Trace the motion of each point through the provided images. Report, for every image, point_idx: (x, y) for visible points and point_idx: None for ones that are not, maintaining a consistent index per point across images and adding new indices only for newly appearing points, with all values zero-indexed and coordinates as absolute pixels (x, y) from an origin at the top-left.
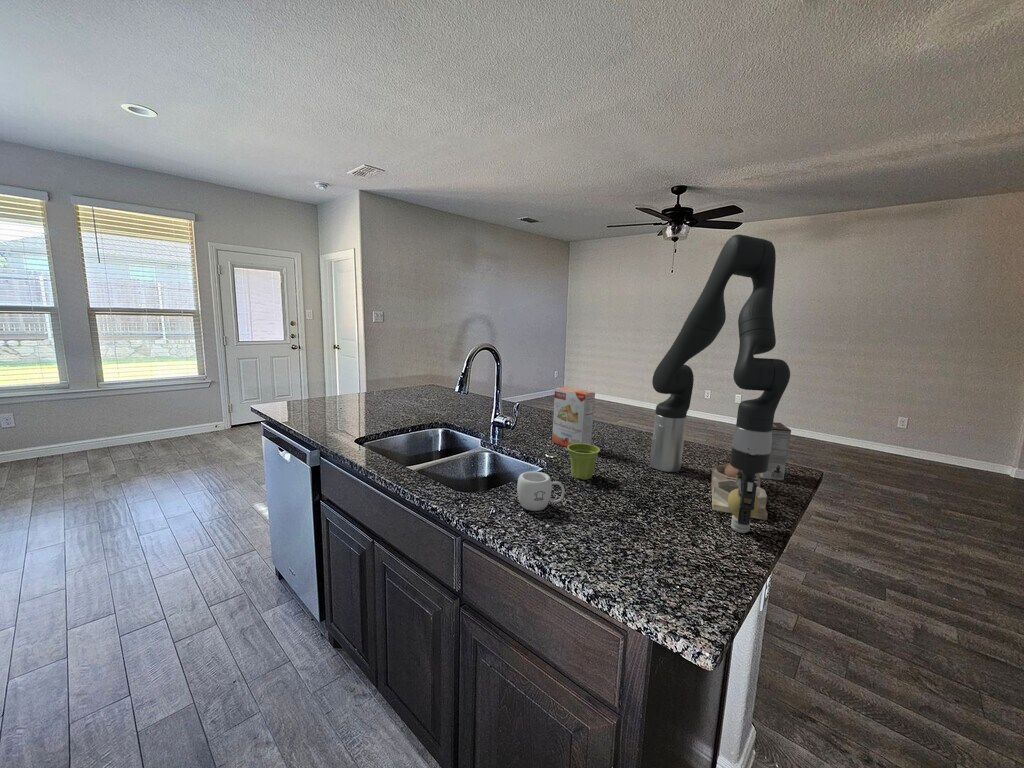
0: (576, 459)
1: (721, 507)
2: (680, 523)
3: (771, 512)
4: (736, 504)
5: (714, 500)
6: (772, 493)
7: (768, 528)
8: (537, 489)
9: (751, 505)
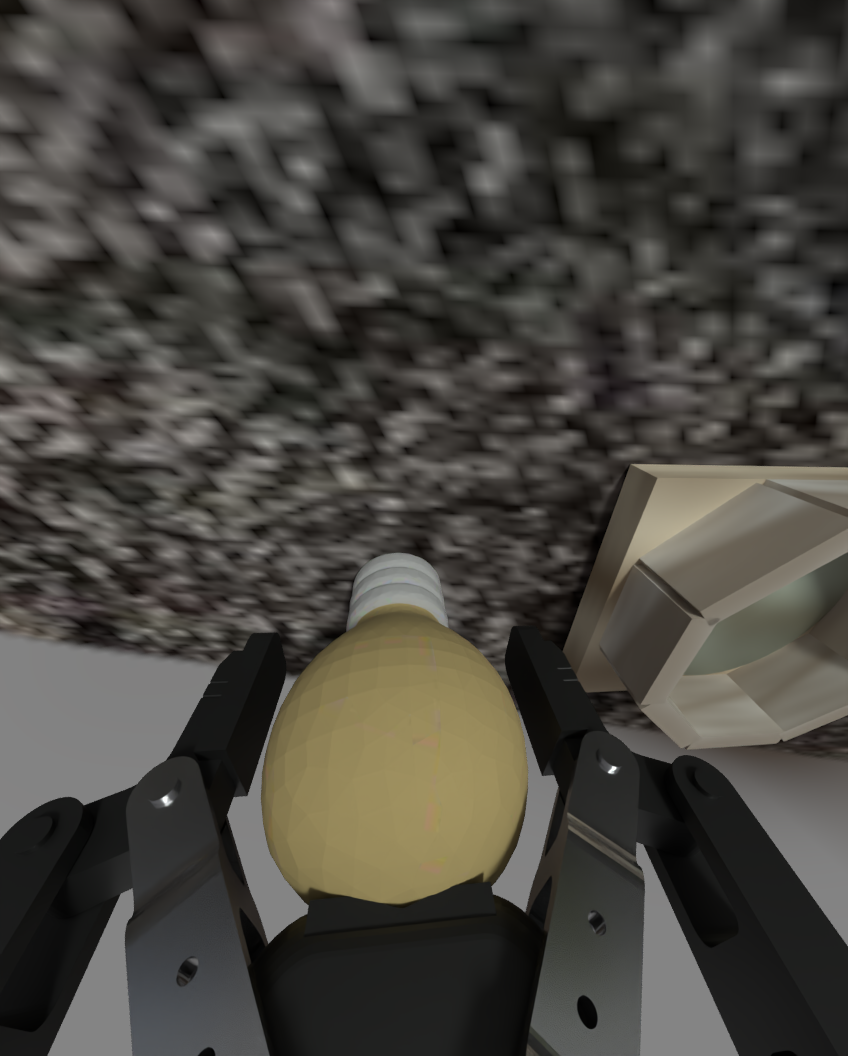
0: None
1: (630, 520)
2: (284, 181)
3: None
4: (278, 725)
5: (721, 486)
6: None
7: None
8: None
9: (47, 913)
